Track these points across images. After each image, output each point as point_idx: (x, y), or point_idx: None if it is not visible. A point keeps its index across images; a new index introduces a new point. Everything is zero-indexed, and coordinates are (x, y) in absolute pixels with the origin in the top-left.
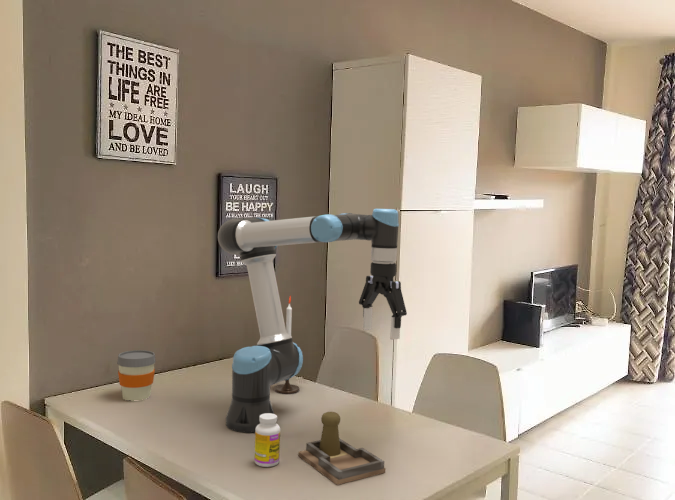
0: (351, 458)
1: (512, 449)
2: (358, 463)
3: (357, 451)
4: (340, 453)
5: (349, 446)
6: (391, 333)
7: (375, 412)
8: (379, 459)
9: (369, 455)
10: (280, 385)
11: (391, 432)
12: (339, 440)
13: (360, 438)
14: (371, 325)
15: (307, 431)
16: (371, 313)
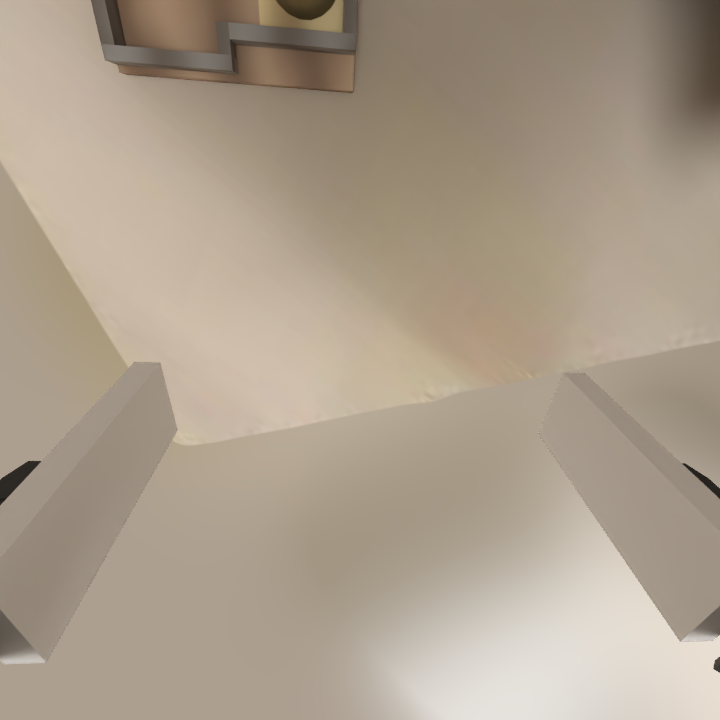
0: (223, 11)
1: None
2: (178, 5)
3: (217, 32)
4: (276, 2)
5: (259, 29)
6: (116, 396)
7: (487, 337)
8: (123, 54)
9: (171, 50)
10: None
11: (362, 287)
12: (321, 32)
13: (373, 184)
14: (555, 453)
15: (515, 54)
16: (634, 557)
